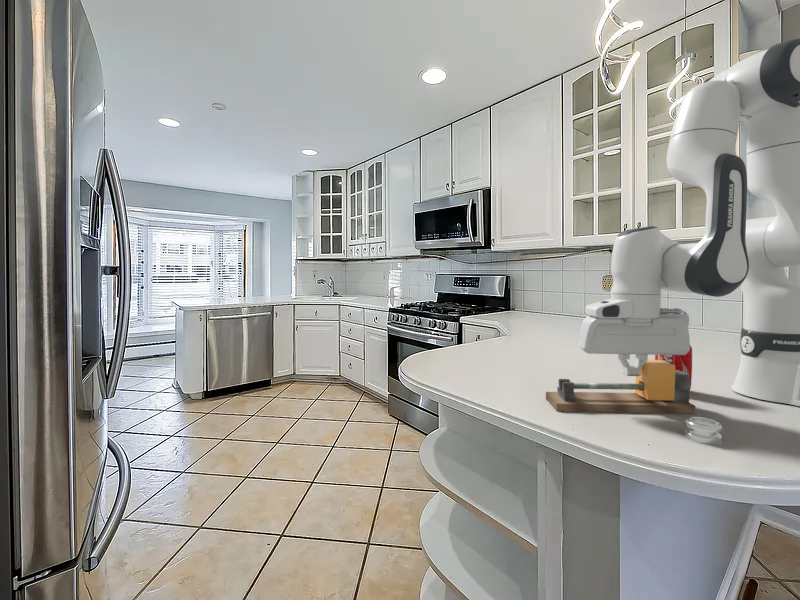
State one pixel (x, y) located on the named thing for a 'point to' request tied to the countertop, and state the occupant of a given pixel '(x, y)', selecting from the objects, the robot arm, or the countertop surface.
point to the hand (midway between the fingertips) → (631, 375)
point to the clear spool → (703, 430)
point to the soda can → (679, 362)
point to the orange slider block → (657, 380)
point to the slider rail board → (619, 398)
